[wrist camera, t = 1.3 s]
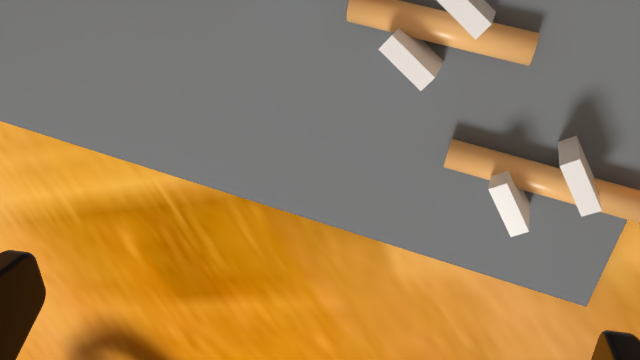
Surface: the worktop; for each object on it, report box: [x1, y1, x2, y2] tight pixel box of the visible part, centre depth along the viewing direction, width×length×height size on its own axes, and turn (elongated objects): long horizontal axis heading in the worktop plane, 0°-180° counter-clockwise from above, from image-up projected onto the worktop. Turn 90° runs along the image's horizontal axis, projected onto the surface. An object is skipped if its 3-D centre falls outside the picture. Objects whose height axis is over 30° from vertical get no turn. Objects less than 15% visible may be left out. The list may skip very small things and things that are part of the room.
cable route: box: [347, 0, 640, 237], centre depth 19 cm, size 16×5×2 cm, turn 47°
